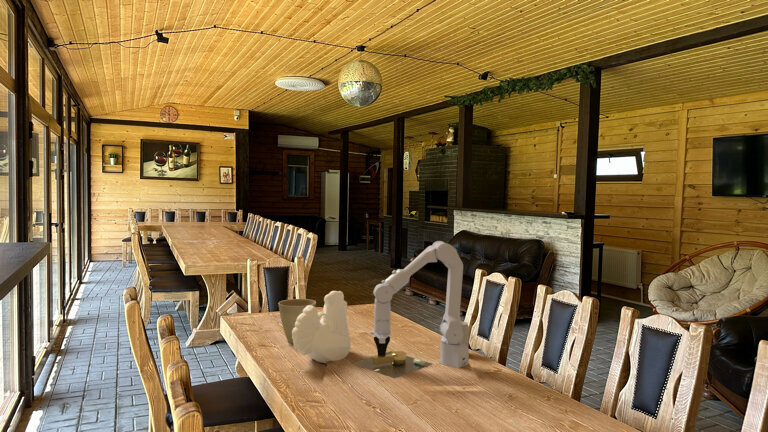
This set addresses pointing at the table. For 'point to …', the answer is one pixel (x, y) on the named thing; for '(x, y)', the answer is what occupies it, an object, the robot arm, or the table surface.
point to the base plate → (393, 366)
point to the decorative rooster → (323, 330)
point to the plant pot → (292, 314)
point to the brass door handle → (391, 358)
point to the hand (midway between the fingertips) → (381, 358)
